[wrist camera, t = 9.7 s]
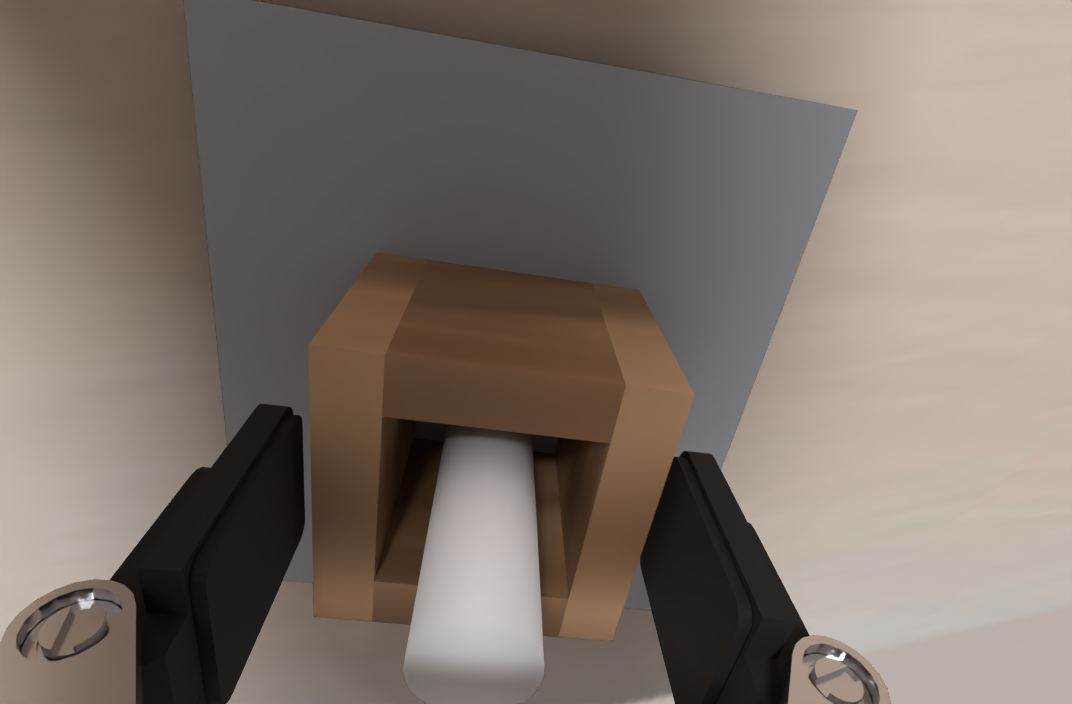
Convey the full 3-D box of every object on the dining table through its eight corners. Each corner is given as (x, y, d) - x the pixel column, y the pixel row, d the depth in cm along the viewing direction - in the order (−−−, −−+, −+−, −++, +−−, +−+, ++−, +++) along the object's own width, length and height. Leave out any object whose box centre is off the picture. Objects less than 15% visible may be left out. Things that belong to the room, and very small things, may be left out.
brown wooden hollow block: (377, 251, 14) (308, 344, 9) (639, 289, 14) (694, 394, 10) (369, 465, 16) (313, 616, 12) (587, 489, 17) (611, 641, 13)
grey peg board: (211, -7, 12) (-436, -155, 4) (830, 106, 14) (1321, 175, 5) (255, 548, 19) (61, 913, 11) (658, 583, 21) (755, 928, 12)
